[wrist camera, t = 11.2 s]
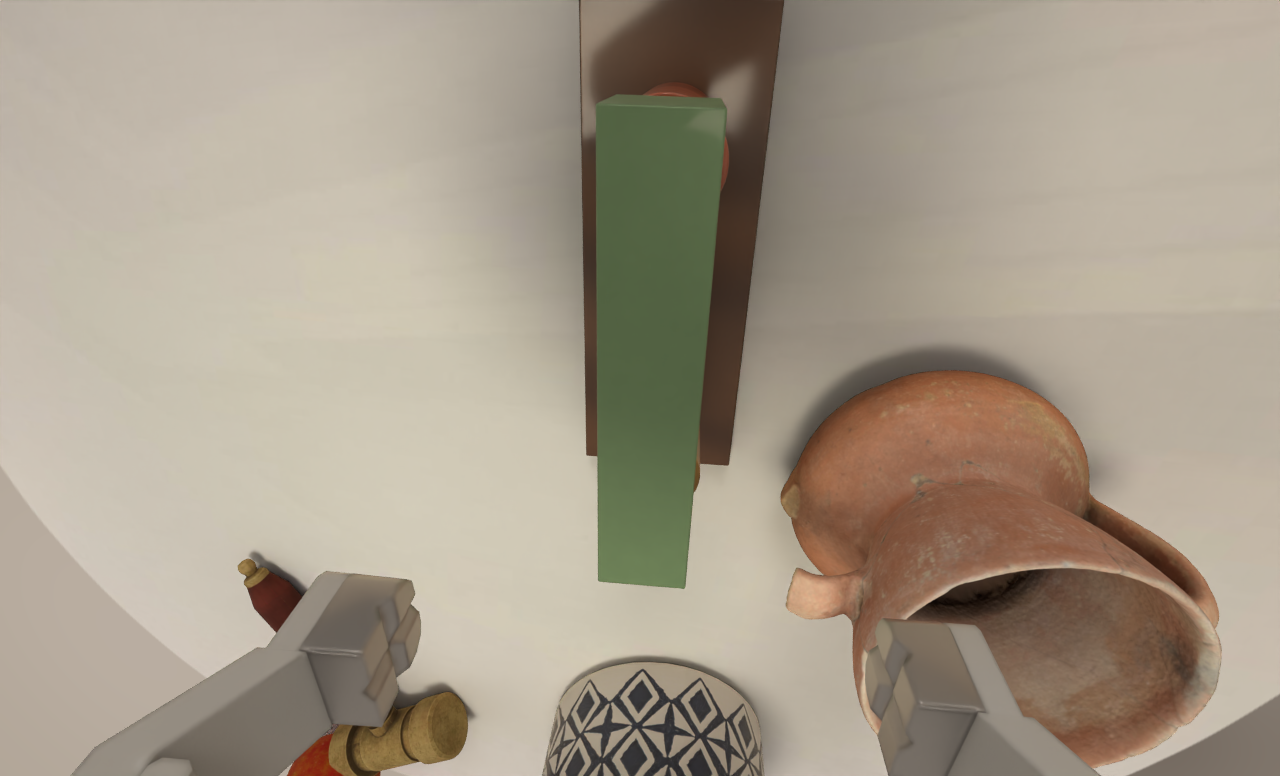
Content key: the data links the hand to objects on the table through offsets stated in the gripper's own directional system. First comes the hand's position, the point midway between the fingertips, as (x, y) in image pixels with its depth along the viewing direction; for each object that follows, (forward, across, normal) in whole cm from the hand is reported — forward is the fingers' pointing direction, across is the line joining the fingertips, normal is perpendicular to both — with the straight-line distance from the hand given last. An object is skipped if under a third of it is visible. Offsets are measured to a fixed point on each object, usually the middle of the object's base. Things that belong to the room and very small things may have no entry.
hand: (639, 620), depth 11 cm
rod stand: (+22, 0, 0) cm, 22 cm away
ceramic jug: (+22, -15, +11) cm, 29 cm away
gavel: (+22, +23, +32) cm, 45 cm away
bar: (+13, 0, 0) cm, 13 cm away
